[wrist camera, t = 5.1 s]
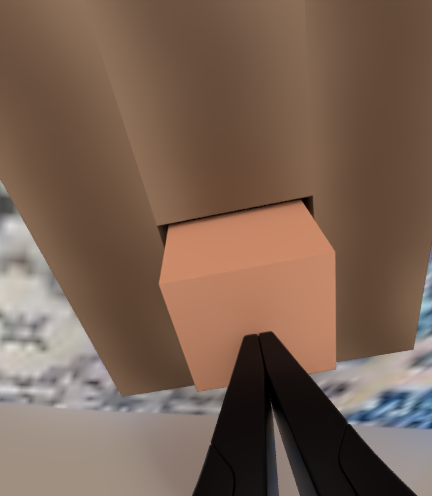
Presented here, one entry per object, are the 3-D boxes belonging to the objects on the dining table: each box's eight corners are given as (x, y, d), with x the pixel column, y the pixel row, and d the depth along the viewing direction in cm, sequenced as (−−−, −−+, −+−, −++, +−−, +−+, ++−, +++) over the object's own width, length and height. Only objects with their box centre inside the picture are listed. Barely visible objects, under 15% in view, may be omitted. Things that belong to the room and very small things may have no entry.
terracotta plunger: (300, 199, 12) (335, 251, 9) (307, 301, 14) (335, 369, 11) (168, 225, 12) (158, 284, 9) (197, 320, 15) (197, 391, 12)
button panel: (445, -662, 6) (728, -1473, 3) (374, 294, 19) (413, 349, 15) (-212, -431, 7) (-579, -855, 4) (135, 335, 20) (121, 396, 16)
